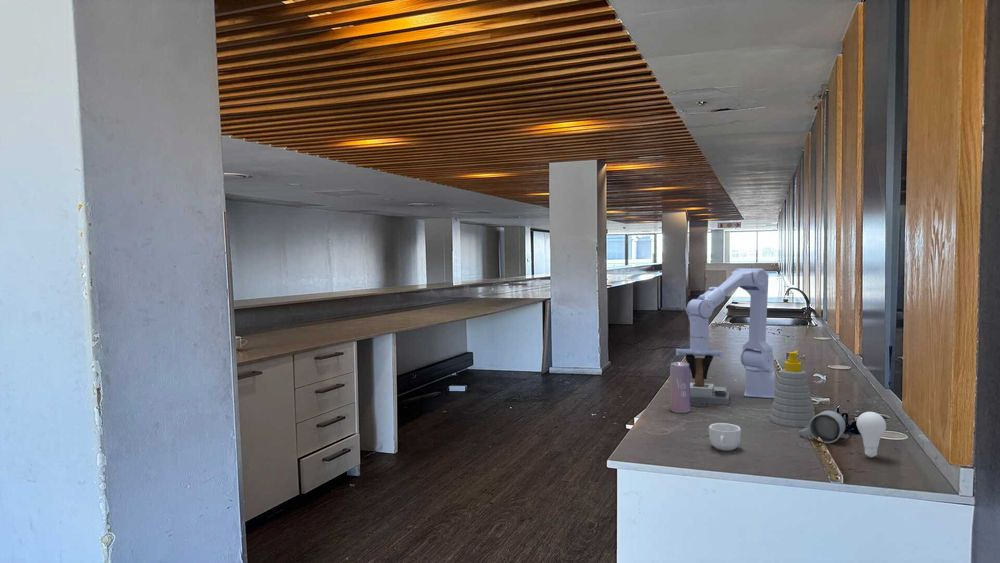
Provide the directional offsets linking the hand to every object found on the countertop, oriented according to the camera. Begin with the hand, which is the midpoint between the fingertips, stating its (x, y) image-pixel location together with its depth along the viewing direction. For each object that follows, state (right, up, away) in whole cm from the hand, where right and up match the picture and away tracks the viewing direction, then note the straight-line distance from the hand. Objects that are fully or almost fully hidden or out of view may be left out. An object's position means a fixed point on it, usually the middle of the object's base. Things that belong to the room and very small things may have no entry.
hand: (699, 378), depth 203 cm
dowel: (0, -3, 0) cm, 3 cm away
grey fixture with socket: (+6, -8, +8) cm, 13 cm away
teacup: (-8, -11, -44) cm, 46 cm away
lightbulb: (+25, -11, -52) cm, 59 cm away
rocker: (+9, -5, +6) cm, 12 cm away
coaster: (0, -9, 0) cm, 9 cm away
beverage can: (-8, -10, -6) cm, 14 cm away
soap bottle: (+21, -10, -20) cm, 31 cm away
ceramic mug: (+21, -11, -37) cm, 44 cm away
